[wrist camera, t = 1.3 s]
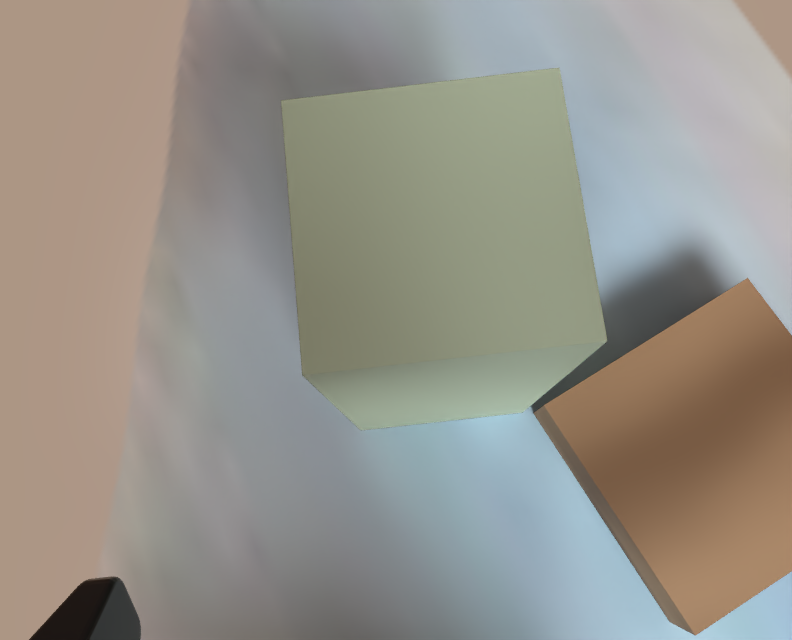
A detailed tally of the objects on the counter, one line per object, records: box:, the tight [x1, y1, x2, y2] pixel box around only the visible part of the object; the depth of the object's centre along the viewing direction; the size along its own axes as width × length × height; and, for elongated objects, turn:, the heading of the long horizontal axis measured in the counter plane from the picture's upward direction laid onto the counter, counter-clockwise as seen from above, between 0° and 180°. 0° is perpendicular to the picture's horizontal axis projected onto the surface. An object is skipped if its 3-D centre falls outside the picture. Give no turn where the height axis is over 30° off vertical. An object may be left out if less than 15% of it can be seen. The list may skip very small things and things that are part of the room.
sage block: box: [281, 68, 607, 430], centre depth 18 cm, size 5×5×11 cm
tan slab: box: [534, 278, 792, 635], centre depth 21 cm, size 7×7×2 cm
